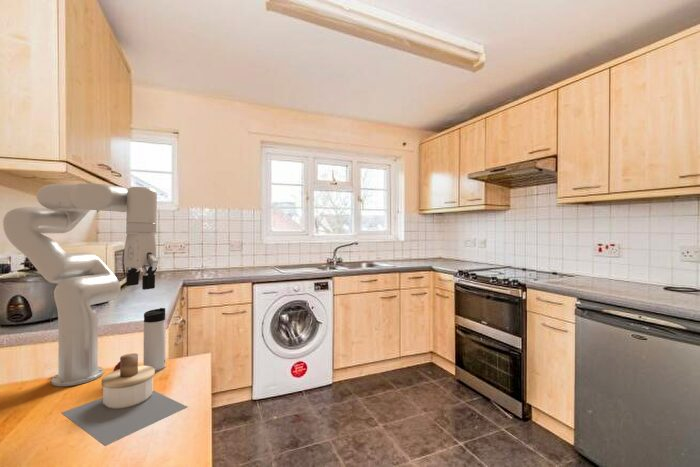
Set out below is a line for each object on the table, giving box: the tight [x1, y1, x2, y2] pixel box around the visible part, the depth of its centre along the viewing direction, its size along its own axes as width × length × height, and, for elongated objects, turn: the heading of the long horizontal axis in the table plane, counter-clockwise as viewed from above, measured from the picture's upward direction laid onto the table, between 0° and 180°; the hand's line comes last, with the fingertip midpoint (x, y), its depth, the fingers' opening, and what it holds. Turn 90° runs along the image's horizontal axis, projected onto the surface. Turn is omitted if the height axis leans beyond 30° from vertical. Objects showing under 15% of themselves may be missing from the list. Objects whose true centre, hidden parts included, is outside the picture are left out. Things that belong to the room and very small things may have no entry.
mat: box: [61, 389, 188, 447], centre depth 85 cm, size 24×19×1 cm
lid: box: [101, 353, 156, 388], centre depth 90 cm, size 12×12×6 cm
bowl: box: [102, 376, 154, 409], centre depth 90 cm, size 11×11×6 cm
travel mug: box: [143, 307, 167, 373], centre depth 110 cm, size 6×7×20 cm
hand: (140, 286), depth 99 cm, fingers open, 9 cm apart
